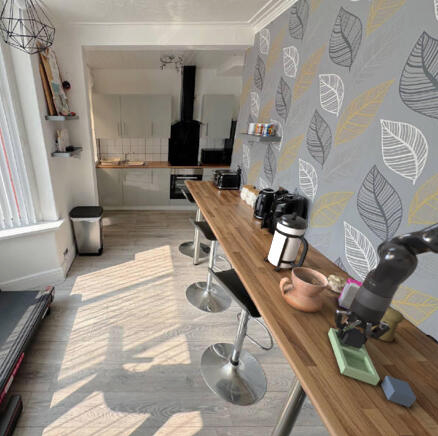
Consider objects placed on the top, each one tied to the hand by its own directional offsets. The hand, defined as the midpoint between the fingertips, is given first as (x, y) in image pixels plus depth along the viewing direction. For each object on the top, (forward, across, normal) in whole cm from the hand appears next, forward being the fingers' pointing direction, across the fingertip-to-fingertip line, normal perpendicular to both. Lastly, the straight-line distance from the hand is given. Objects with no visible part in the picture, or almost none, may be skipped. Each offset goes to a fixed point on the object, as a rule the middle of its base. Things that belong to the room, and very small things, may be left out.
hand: (349, 340), depth 78 cm
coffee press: (+4, -16, +44) cm, 47 cm away
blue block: (+4, +8, -13) cm, 15 cm away
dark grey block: (0, 0, 0) cm, 0 cm away
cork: (+4, +14, +12) cm, 19 cm away
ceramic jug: (+4, -12, +17) cm, 21 cm away
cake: (+4, +6, +37) cm, 38 cm away
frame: (+4, 0, -4) cm, 5 cm away
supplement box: (+4, +7, +24) cm, 26 cm away
